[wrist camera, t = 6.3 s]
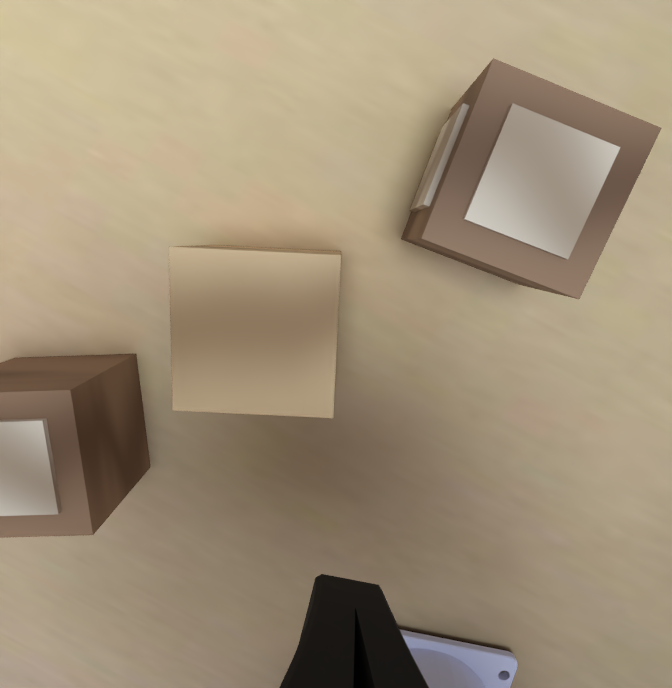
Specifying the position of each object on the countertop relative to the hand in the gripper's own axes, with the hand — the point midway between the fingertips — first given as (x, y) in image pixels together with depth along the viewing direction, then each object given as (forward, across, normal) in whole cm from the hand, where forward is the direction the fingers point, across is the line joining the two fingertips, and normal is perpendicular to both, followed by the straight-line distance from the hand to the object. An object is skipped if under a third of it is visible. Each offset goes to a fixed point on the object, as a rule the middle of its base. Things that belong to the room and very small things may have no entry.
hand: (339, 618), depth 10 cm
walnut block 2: (+11, -4, -10) cm, 15 cm away
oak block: (+11, +3, -4) cm, 12 cm away
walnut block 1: (+11, +10, +2) cm, 15 cm away
